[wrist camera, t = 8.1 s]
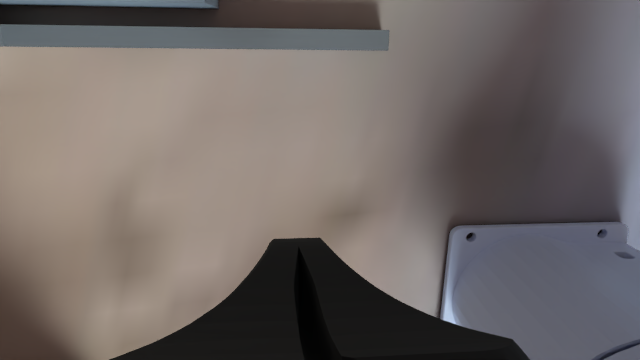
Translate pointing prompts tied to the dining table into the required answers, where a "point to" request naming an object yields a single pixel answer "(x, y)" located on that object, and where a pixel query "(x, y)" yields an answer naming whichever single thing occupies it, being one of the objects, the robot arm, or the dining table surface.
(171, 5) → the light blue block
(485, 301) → the robot arm
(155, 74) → the dining table surface
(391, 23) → the dining table surface
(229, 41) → the track
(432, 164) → the dining table surface
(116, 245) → the dining table surface
